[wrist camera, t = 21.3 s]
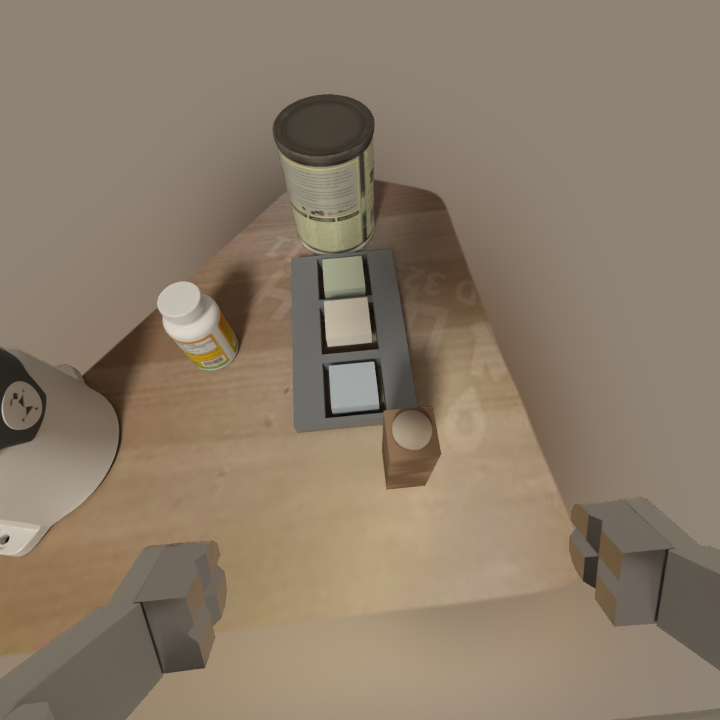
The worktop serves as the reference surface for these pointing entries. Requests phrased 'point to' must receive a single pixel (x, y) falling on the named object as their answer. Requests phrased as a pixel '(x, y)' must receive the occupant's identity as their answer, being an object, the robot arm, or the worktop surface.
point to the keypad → (314, 364)
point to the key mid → (347, 322)
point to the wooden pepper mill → (409, 446)
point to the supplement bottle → (197, 326)
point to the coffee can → (328, 171)
